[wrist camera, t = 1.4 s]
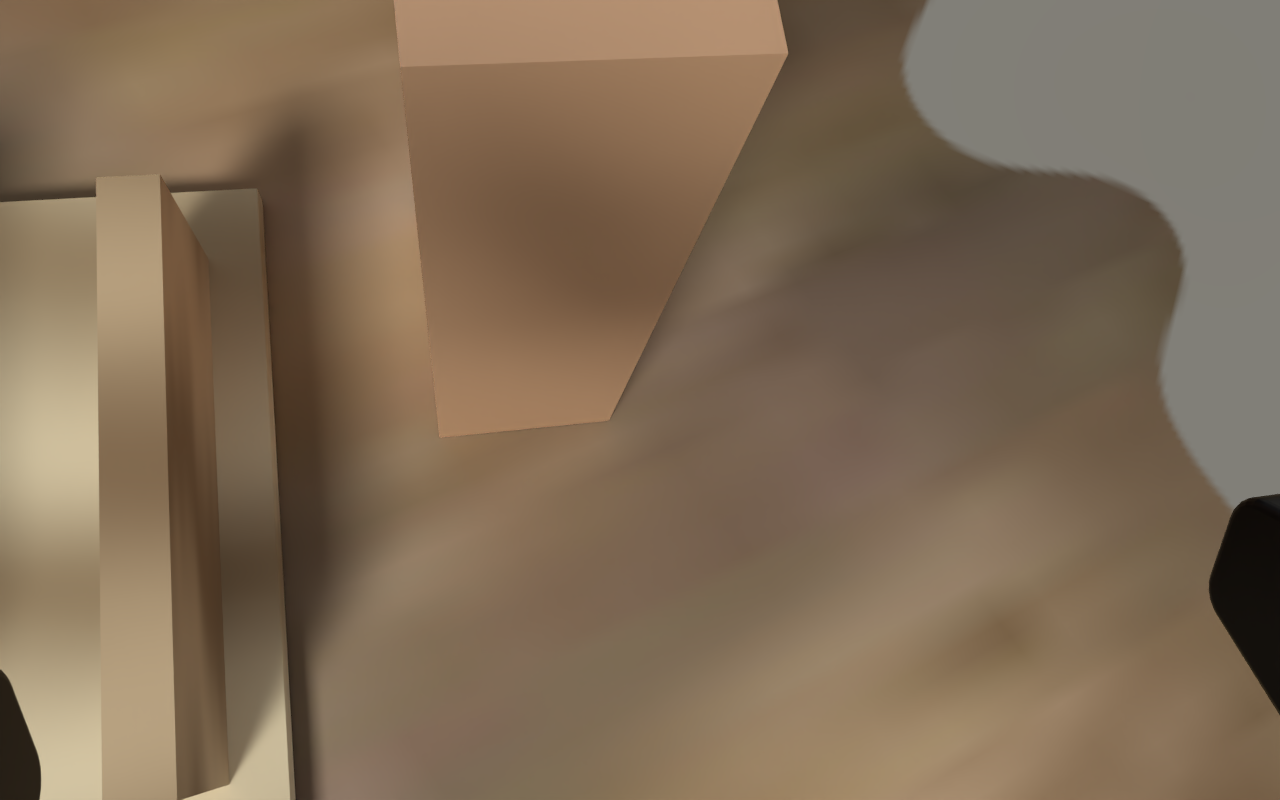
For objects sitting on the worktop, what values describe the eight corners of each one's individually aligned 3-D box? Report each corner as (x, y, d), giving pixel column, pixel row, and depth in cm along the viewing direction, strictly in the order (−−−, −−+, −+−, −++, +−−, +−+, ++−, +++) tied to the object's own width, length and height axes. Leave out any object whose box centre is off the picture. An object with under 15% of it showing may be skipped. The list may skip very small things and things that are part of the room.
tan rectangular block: (578, 204, 23) (702, -365, 11) (608, 421, 22) (787, 53, 10) (417, 213, 23) (357, -379, 10) (439, 437, 21) (400, 66, 9)
